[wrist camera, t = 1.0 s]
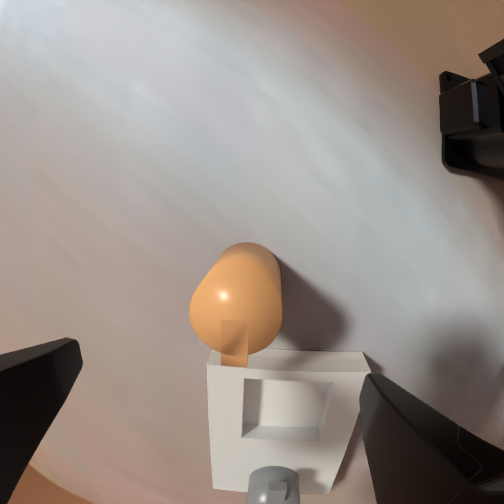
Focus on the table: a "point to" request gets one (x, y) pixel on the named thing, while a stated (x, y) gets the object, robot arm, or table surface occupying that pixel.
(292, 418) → the housing
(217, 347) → the orange rounded tapered piece
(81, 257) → the table surface
